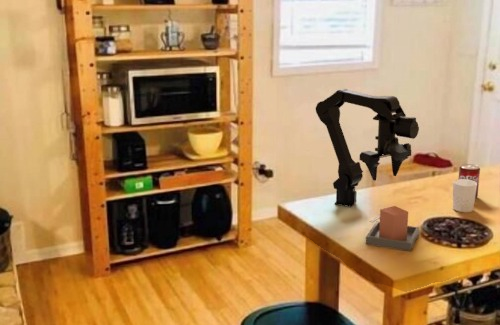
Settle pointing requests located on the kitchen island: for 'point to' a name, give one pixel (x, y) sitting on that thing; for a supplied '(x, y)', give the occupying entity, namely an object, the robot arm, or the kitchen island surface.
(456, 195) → the white cup
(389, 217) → the terracotta block
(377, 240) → the charcoal tray
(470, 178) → the soda can
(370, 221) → the butter knife
